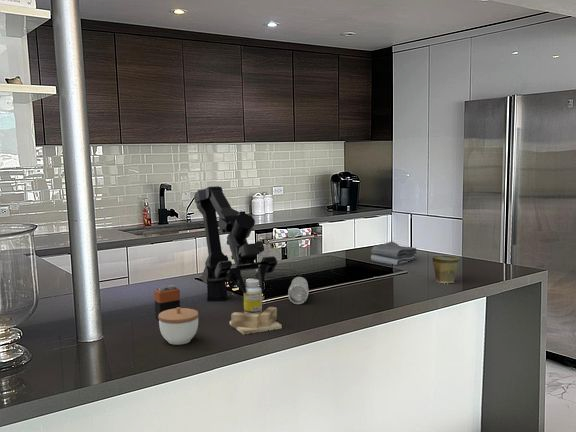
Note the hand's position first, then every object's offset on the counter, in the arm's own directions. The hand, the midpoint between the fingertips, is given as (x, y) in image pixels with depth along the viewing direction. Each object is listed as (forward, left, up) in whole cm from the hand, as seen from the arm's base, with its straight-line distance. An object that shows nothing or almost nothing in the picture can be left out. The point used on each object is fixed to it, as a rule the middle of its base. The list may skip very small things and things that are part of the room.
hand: (254, 291), depth 164 cm
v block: (0, 0, -10) cm, 11 cm away
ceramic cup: (+78, +44, -11) cm, 90 cm away
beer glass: (+19, +35, -7) cm, 40 cm away
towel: (+70, +86, -11) cm, 112 cm away
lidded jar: (-21, -10, -11) cm, 26 cm away
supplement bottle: (0, +1, -7) cm, 7 cm away
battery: (-26, +12, -11) cm, 31 cm away
